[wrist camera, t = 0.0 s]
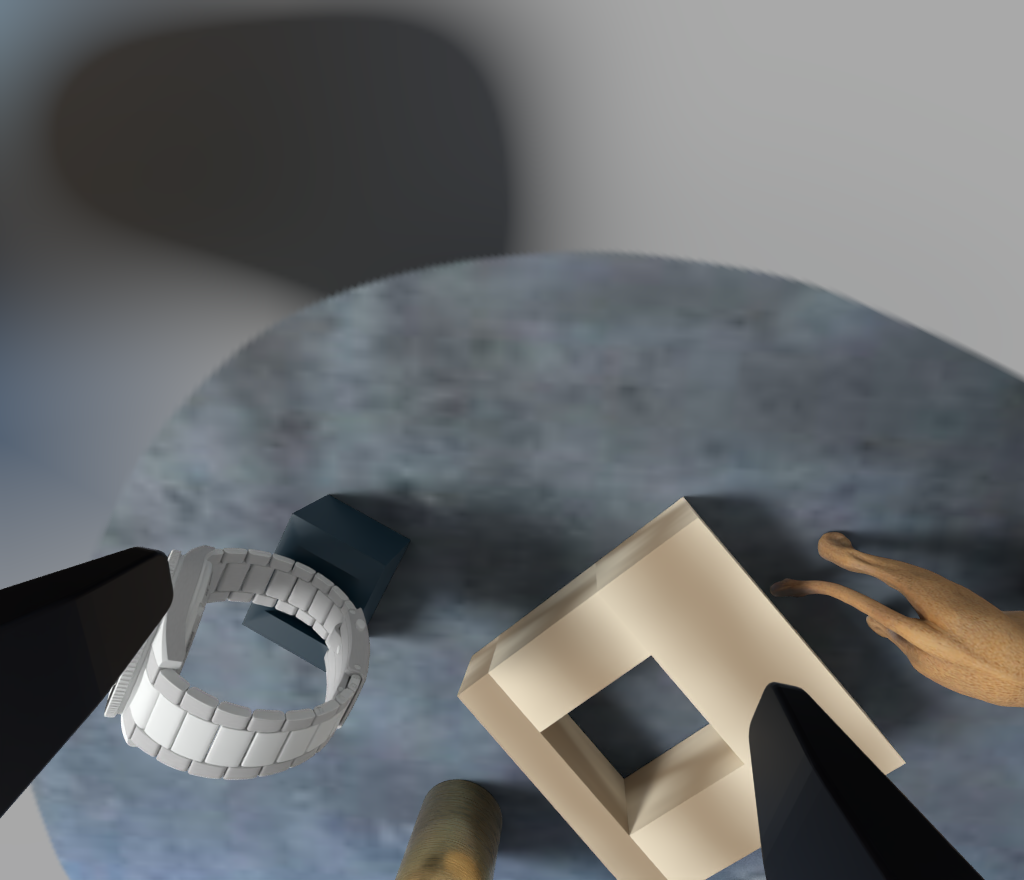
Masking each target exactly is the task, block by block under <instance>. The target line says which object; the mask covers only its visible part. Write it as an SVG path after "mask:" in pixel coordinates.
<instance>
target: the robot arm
mask: <svg viewBox="0 0 1024 880" xmlns="http://www.w3.org/2000/svg"><path fill="white" fill-rule="evenodd" d="M173 596H174V591H173V585H172V579H171V574H170V568H169V562H168V558H167V556H166V555H165V553H164V552H162V551H159V550H155V549H150V548H145V547H133V548H129V549H126V550H123V551H120V552H117V553H114V554H110V555H107V556H104V557H101V558H98V559H95V560H92V561H89V562H85V563H82V564H79V565H76V566H73V567H70V568H67V569H63V570H60V571H57V572H54V573H51V574H48V575H45V576H42V577H38V578H36V579H32V580H29V581H26V582H23V583H20V584H17V585H13V586H11V587H7V588H4V589H1V590H0V818H1V817H2V816H3V815H4V813H5V812H6V811H7V810H8V809H9V808H10V807H11V805H12V804H13V803H14V802H15V801H16V799H17V798H18V797H19V796H20V795H21V794H22V792H23V791H24V790H25V789H26V788H27V787H28V786H29V785H30V783H31V782H32V781H33V780H34V779H35V778H36V777H37V775H38V774H39V773H40V772H41V771H42V770H43V768H44V767H45V766H46V765H47V764H48V763H49V762H50V760H51V759H52V758H53V757H54V756H55V755H56V753H57V752H58V751H59V750H60V749H61V748H62V747H63V745H64V744H65V743H66V742H67V741H68V740H69V739H70V737H71V736H72V735H73V734H74V733H75V732H76V730H77V729H78V728H79V727H80V726H81V725H82V724H83V722H84V721H85V720H86V719H87V718H88V717H89V715H90V714H91V713H92V712H93V711H94V709H95V708H96V707H97V706H98V705H99V703H100V702H101V701H102V700H103V698H104V697H105V696H106V695H107V693H108V692H109V691H110V689H111V688H112V687H113V685H114V684H115V683H116V681H117V680H118V679H119V677H120V676H121V675H122V673H123V672H124V670H125V669H126V668H127V666H128V665H129V664H130V662H131V661H132V659H133V658H134V657H135V655H136V654H137V653H138V651H139V650H140V648H141V647H142V646H143V644H144V643H145V642H146V640H147V639H148V637H149V636H150V635H151V633H152V632H153V631H154V629H155V628H156V627H157V625H158V624H159V622H160V621H161V620H162V618H163V617H164V616H165V614H166V613H167V611H168V610H169V608H170V606H171V604H172V601H173ZM749 747H750V756H751V764H752V773H753V782H754V791H755V799H756V808H757V817H758V826H759V834H760V843H761V850H762V857H763V864H764V870H765V875H766V880H984V879H983V877H982V876H981V875H980V874H979V873H978V872H977V871H976V870H975V869H974V868H973V867H972V866H971V865H970V864H969V863H968V862H967V861H966V860H965V859H964V857H963V856H962V855H961V854H960V853H959V852H958V851H957V850H956V849H955V848H954V847H953V846H952V845H951V844H950V843H949V842H948V841H947V840H946V838H945V837H944V836H943V835H942V834H941V833H940V832H939V831H938V830H937V829H936V828H935V827H934V826H933V825H932V824H931V823H930V822H929V821H928V820H927V818H926V817H925V816H924V815H923V814H922V813H921V812H920V811H919V810H918V809H917V808H916V807H915V806H914V805H913V804H912V803H911V802H910V801H909V800H908V798H907V797H906V796H905V795H904V794H903V793H902V792H901V791H900V790H899V789H898V788H897V787H896V786H895V785H894V784H893V783H892V782H891V781H890V780H889V778H888V777H887V776H886V775H885V774H884V773H883V772H882V771H881V770H880V769H879V768H878V767H877V766H876V765H875V764H874V763H873V762H872V761H871V760H870V758H869V757H868V756H867V755H866V754H865V753H864V752H863V751H862V750H861V749H860V748H859V747H858V746H857V745H856V744H855V743H854V742H853V741H852V740H851V738H850V737H849V736H848V735H847V734H846V733H845V732H844V731H843V730H842V729H841V728H840V727H839V726H838V725H837V724H836V723H835V722H834V721H833V719H832V718H831V717H830V716H829V715H828V714H827V713H826V712H825V711H824V710H823V709H822V708H821V707H820V706H819V705H818V704H817V703H816V702H815V701H814V699H813V698H812V697H811V696H810V695H809V694H808V693H807V692H806V691H804V690H803V689H802V688H799V687H797V686H792V685H788V684H783V683H778V682H771V683H769V684H768V685H767V686H766V687H765V689H764V691H763V694H762V696H761V698H760V701H759V703H758V705H757V708H756V710H755V712H754V715H753V717H752V720H751V722H750V727H749Z"/></svg>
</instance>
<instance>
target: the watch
mask: <svg viewBox="0 0 1024 880" xmlns="http://www.w3.org/2000/svg"><path fill="white" fill-rule="evenodd" d="M409 542H410V540H409V539H407V538H406V537H404V536H402V535H400V534H398V533H397V532H395V531H393V530H391V529H389V528H388V527H386V526H384V525H382V524H381V523H379V522H377V521H375V520H373V519H372V518H370V517H368V516H366V515H364V514H363V513H361V512H359V511H357V510H355V509H354V508H352V507H350V506H348V505H346V504H345V503H343V502H341V501H339V500H337V499H336V498H334V497H332V496H330V495H327V496H325V497H323V498H321V499H319V500H317V501H315V502H313V503H311V504H310V505H308V506H306V507H304V508H302V509H300V510H298V511H296V512H294V513H292V515H291V518H290V520H289V522H288V524H287V526H286V529H285V531H284V533H283V535H282V537H281V540H280V542H279V544H278V546H277V548H276V551H275V553H274V554H273V555H272V557H271V553H268V552H264V551H259V550H253V549H249V550H248V551H247V550H246V549H239V548H224V549H223V550H222V549H215V548H214V547H210V546H205V545H204V546H200V547H197V548H194V549H192V550H190V551H189V552H187V553H186V554H185V556H184V555H181V551H178V550H172V552H171V553H170V554H169V556H168V557H167V558H168V562H169V568H170V574H171V579H172V585H173V591H174V596H173V601H172V604H171V606H170V608H169V610H168V611H167V613H166V614H165V616H164V617H163V618H162V620H161V621H160V622H159V624H158V625H157V627H156V628H155V629H154V631H153V632H152V633H151V635H150V636H149V637H148V639H147V640H146V642H145V643H144V644H143V646H142V647H141V648H140V650H139V651H138V653H137V654H136V655H135V657H134V658H133V659H132V661H131V662H130V664H129V665H128V666H127V668H126V669H125V670H124V672H123V673H122V675H121V676H120V677H119V679H118V680H117V681H116V683H115V684H114V685H113V687H112V688H111V690H110V693H109V696H108V699H107V704H106V709H105V717H113V718H114V717H115V716H116V714H121V727H122V732H123V735H124V738H125V740H126V742H127V744H128V745H129V746H131V747H139V748H140V749H141V750H143V751H144V752H146V753H147V754H149V755H150V756H153V757H155V756H157V755H158V756H157V760H158V761H160V762H162V763H164V764H166V765H168V766H170V767H172V768H175V769H177V770H180V771H187V770H188V768H189V766H190V768H189V770H188V773H189V774H192V775H196V776H201V777H207V778H215V779H219V778H222V776H223V774H224V776H223V778H224V779H226V780H241V779H251V778H256V777H257V775H259V776H260V777H262V776H267V775H272V774H276V773H279V772H282V771H285V770H287V769H289V767H295V766H297V765H299V764H301V763H303V762H305V761H306V760H308V759H309V758H311V757H312V756H314V754H315V753H318V752H319V751H320V750H321V749H322V748H323V747H324V746H325V745H326V744H327V743H328V741H329V740H330V738H331V737H332V736H333V734H334V732H335V731H336V729H338V728H341V727H342V725H343V724H344V722H345V720H346V719H347V717H348V715H349V713H350V711H351V710H352V708H353V706H354V704H355V702H356V700H357V698H358V696H359V693H360V691H361V689H362V687H363V685H364V683H365V681H366V677H367V672H368V666H369V656H370V642H369V634H368V628H367V625H368V623H369V621H370V619H371V617H372V615H373V613H374V611H375V609H376V607H377V605H378V603H379V601H380V599H381V597H382V595H383V593H384V591H385V589H386V587H387V585H388V583H389V581H390V579H391V578H392V576H393V574H394V572H395V570H396V568H397V566H398V564H399V562H400V560H401V558H402V556H403V554H404V552H405V550H406V548H407V546H408V544H409ZM270 558H271V559H270ZM269 560H270V561H269ZM268 562H269V563H268ZM248 569H249V570H248ZM244 578H245V579H244ZM254 593H255V594H254ZM253 595H254V596H253ZM227 598H228V600H229V601H233V602H250V601H251V600H252V603H251V606H250V608H249V610H248V612H247V614H246V617H245V619H244V621H243V623H242V624H243V625H244V626H246V627H248V628H250V629H251V630H253V631H255V632H257V633H258V634H260V635H262V636H264V637H265V638H267V639H269V640H271V641H272V642H274V643H276V644H278V645H279V646H281V647H283V648H285V649H286V650H288V651H290V652H292V653H293V654H295V655H297V656H298V657H300V658H302V659H304V660H305V661H307V662H309V663H311V664H312V665H314V666H316V667H318V668H319V669H321V670H323V671H325V672H326V674H327V692H326V700H325V703H324V704H321V705H319V706H316V707H315V708H314V709H313V710H311V709H303V710H294V711H288V712H286V714H285V715H284V713H283V712H282V711H274V710H262V709H257V710H255V711H254V712H253V714H252V716H251V710H250V709H249V708H247V707H243V706H239V705H236V704H232V703H229V702H225V701H224V702H221V703H220V704H219V706H218V703H219V701H218V699H217V698H215V697H213V696H211V695H209V694H207V693H206V692H204V691H202V690H200V689H199V688H197V687H192V688H190V689H189V686H190V684H189V683H188V682H187V681H186V680H185V679H184V678H182V677H181V676H180V673H181V670H182V668H183V665H184V663H185V660H186V658H187V655H188V653H189V650H190V647H191V645H192V642H193V639H194V637H195V634H196V631H197V629H198V626H199V623H200V620H201V617H202V614H203V611H204V608H205V605H206V603H212V602H222V601H226V600H227ZM252 598H253V599H252ZM217 706H218V707H217ZM216 708H217V709H216ZM215 710H216V711H215ZM214 712H215V713H214ZM220 725H221V726H220ZM219 726H220V728H219ZM218 728H219V731H218V733H217V735H216V732H217V730H218ZM215 735H216V737H215ZM214 737H215V739H214ZM213 739H214V741H213ZM212 741H213V743H212ZM211 743H212V746H211V748H210V750H209V747H210V745H211ZM208 750H209V752H208ZM207 752H208V754H207ZM192 760H193V761H192ZM191 762H192V763H191ZM190 764H191V765H190Z"/></svg>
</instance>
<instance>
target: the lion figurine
mask: <svg viewBox="0 0 1024 880" xmlns="http://www.w3.org/2000/svg"><path fill="white" fill-rule="evenodd" d="M818 552H819V555H820V556H821V557H822V558H824V559H826V560H828V561H831V562H833V563H834V564H836V565H838V566H840V567H842V568H844V569H846V570H849V571H853V572H857V573H865V574H868V575H871V576H874V577H876V578H878V579H880V580H882V581H883V582H885V583H886V584H887V585H889V586H890V587H892V588H894V589H896V590H898V591H899V592H901V593H902V594H903V595H904V596H905V597H906V599H907V600H908V601H909V602H910V604H911V605H912V606H913V608H914V609H915V610H916V612H917V613H918V615H919V617H920V619H917V618H909V617H906V616H904V615H902V614H900V613H898V612H896V611H894V610H892V609H890V608H888V607H886V606H885V605H883V604H881V603H879V602H877V601H875V600H873V599H871V598H869V597H867V596H865V595H863V594H861V593H859V592H857V591H854V590H852V589H850V588H847V587H845V586H842V585H840V584H836V583H832V582H827V581H819V580H811V581H800V580H793V579H789V578H785V579H784V580H782V581H780V582H776V583H774V584H773V585H772V586H771V587H770V593H771V594H772V595H773V596H776V597H785V596H793V597H802V596H805V595H809V594H825V595H829V596H832V597H835V598H837V599H839V600H841V601H843V602H845V603H847V604H849V605H851V606H853V607H855V608H857V609H858V610H860V611H862V612H863V613H865V614H867V615H868V617H867V623H868V626H869V627H870V628H871V629H872V630H873V631H874V632H876V633H877V634H879V635H880V636H882V637H885V638H888V639H890V640H891V641H892V642H893V643H894V644H896V645H897V646H898V647H899V648H900V649H901V650H902V651H903V653H904V654H906V655H907V657H908V659H909V660H910V662H911V664H912V666H913V667H914V668H915V669H916V670H917V671H918V672H920V673H921V674H923V675H924V676H926V677H928V678H929V679H931V680H933V681H935V682H936V683H938V684H940V685H942V686H944V687H946V688H948V689H951V690H953V691H955V692H958V693H960V694H963V695H967V696H970V697H973V698H977V699H980V700H983V701H986V702H989V703H992V704H996V705H999V706H1009V707H1024V611H1001V610H999V609H998V608H997V607H995V606H994V605H992V604H991V603H989V602H988V601H986V600H985V599H983V598H982V597H980V596H978V595H977V594H975V593H974V592H972V591H971V590H969V589H967V588H965V587H963V586H961V585H959V584H956V583H954V582H952V581H950V580H948V579H946V578H944V577H942V576H940V575H938V574H936V573H934V572H931V571H929V570H926V569H923V568H920V567H918V566H914V565H911V564H908V563H905V562H901V561H897V560H892V559H888V558H883V557H878V556H874V555H870V554H866V553H862V552H860V551H858V550H855V549H854V548H853V547H852V545H851V542H850V540H849V539H848V538H846V537H845V536H844V535H843V534H841V533H838V532H829V533H826V534H824V535H823V536H822V537H821V538H820V540H819V543H818Z"/></svg>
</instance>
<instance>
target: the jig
mask: <svg viewBox="0 0 1024 880" xmlns="http://www.w3.org/2000/svg"><path fill="white" fill-rule="evenodd" d="M651 655H652V657H653V658H654V659H655V660H656V661H657V662H658V664H659V665H660V666H661V667H662V668H663V669H664V671H665V672H666V673H667V674H668V675H669V676H670V678H671V679H672V680H673V681H674V682H675V683H676V685H677V686H678V687H679V688H680V689H681V690H682V692H683V693H684V694H685V695H686V696H687V697H688V699H689V700H690V701H691V702H692V703H693V704H694V706H695V707H696V708H697V709H698V710H699V711H700V713H701V714H702V715H703V716H704V717H705V718H706V720H707V721H708V722H709V723H710V724H708V725H707V726H705V727H704V728H702V729H701V730H699V731H697V732H696V733H694V734H693V735H691V736H690V737H688V738H687V739H685V740H684V741H682V742H680V743H679V744H677V745H676V746H674V747H673V748H671V749H670V750H668V751H667V752H665V753H663V754H662V755H660V756H659V757H657V758H656V759H654V760H653V761H651V762H650V763H648V764H646V765H645V766H643V767H642V768H640V769H639V770H637V771H636V772H634V773H633V774H631V775H629V776H628V777H626V778H625V779H623V777H622V776H621V775H620V774H619V773H618V772H617V771H616V769H615V768H614V767H613V766H612V765H611V764H610V762H609V761H608V760H607V759H606V758H605V757H604V756H603V754H602V753H601V752H600V751H599V750H598V749H597V747H596V746H595V745H594V744H593V743H592V742H591V740H590V739H589V738H588V737H587V736H586V735H585V734H584V732H583V731H582V730H581V729H580V728H579V727H578V725H577V724H576V723H575V722H574V721H573V720H572V719H571V717H570V716H569V715H568V714H567V713H569V712H570V711H572V710H573V709H574V708H576V707H577V706H579V705H580V704H582V703H583V702H585V701H586V700H587V699H589V698H590V697H592V696H593V695H595V694H596V693H597V692H599V691H600V690H602V689H603V688H605V687H606V686H608V685H609V684H610V683H612V682H613V681H615V680H616V679H618V678H619V677H621V676H622V675H623V674H625V673H626V672H628V671H629V670H631V669H632V668H633V667H635V666H636V665H638V664H639V663H641V662H642V661H644V660H645V659H646V658H648V657H649V656H651ZM771 682H778V683H783V684H788V685H792V686H797V687H799V688H802V689H803V690H804V691H806V692H807V693H808V694H809V695H810V696H811V697H812V698H813V699H814V701H815V702H816V703H817V704H818V705H819V706H820V707H821V708H822V709H823V710H824V711H825V712H826V713H827V714H828V715H829V716H830V717H831V718H832V719H833V721H834V722H835V723H836V724H837V725H838V726H839V727H840V728H841V729H842V730H843V731H844V732H845V733H846V734H847V735H848V736H849V737H850V738H851V740H852V741H853V742H854V743H855V744H856V745H857V746H858V747H859V748H860V749H861V750H862V751H863V752H864V753H865V754H866V755H867V756H868V757H869V758H870V760H871V761H872V762H873V763H874V764H875V765H876V766H877V767H878V768H879V769H880V770H881V771H882V772H883V773H884V774H885V775H886V774H888V773H890V772H891V771H893V770H895V769H897V768H898V767H900V766H902V765H903V764H905V761H904V760H903V759H902V758H901V756H900V755H899V754H898V753H897V751H896V750H895V749H894V748H893V746H892V745H891V744H890V743H889V741H888V740H887V739H886V738H885V736H884V735H883V734H882V733H881V731H880V730H879V729H878V728H877V726H876V725H875V724H874V723H873V721H872V720H871V719H870V718H869V716H868V715H867V714H866V713H865V711H864V710H863V709H862V708H861V707H860V705H859V704H858V703H857V702H856V701H855V700H854V698H853V697H852V696H851V695H850V694H849V692H848V691H847V690H846V689H845V688H844V687H843V685H842V684H841V683H840V682H839V681H838V679H837V678H836V677H835V676H834V675H833V674H832V672H831V671H830V670H829V669H828V668H827V666H826V665H825V664H824V663H823V662H822V661H821V659H820V658H819V657H818V656H817V655H816V653H815V652H814V651H813V650H812V649H811V648H810V646H809V645H808V644H807V643H806V642H805V640H804V639H803V638H802V637H801V636H800V634H799V633H798V632H797V631H796V630H795V629H794V627H793V626H792V625H791V624H790V623H789V621H788V620H787V619H786V618H785V617H784V616H783V614H782V613H781V612H780V611H779V610H778V608H777V607H776V606H775V605H774V604H773V603H772V601H771V600H770V599H769V598H768V597H767V595H766V594H765V593H764V592H763V591H762V590H761V588H760V587H759V586H758V585H757V584H756V582H755V581H754V580H753V579H752V578H751V576H750V575H749V574H748V573H747V572H746V571H745V569H744V568H743V567H742V566H741V565H740V563H739V562H738V561H737V560H736V559H735V558H734V556H733V555H732V554H731V553H730V552H729V550H728V549H727V548H726V547H725V546H724V545H723V543H722V542H721V541H720V540H719V539H718V537H717V536H716V535H715V534H714V533H713V532H712V530H711V529H710V528H709V527H708V526H707V524H706V523H705V522H704V521H703V520H702V519H701V517H700V516H699V515H698V514H697V513H696V511H695V510H694V509H693V508H692V507H691V505H690V504H689V503H688V502H687V501H686V500H685V498H684V497H682V498H681V499H679V500H678V501H677V502H676V503H674V504H673V505H672V506H670V507H669V508H668V509H666V510H665V511H664V512H662V513H661V514H660V515H658V516H657V517H656V518H654V519H653V520H652V521H650V522H649V523H648V524H646V525H645V526H644V527H642V528H641V529H640V530H638V531H637V532H636V533H634V534H633V535H632V536H630V537H629V538H628V539H627V540H625V541H624V542H623V543H621V544H620V545H619V546H617V547H616V548H615V549H613V550H612V551H611V552H609V553H608V554H607V555H605V556H604V557H603V558H601V559H600V560H599V561H597V562H596V563H595V564H593V565H592V566H591V567H589V568H588V569H587V570H585V571H584V572H583V573H581V574H580V575H579V576H578V577H576V578H575V579H574V580H572V581H571V582H570V583H568V584H567V585H566V586H564V587H563V588H562V589H560V590H559V591H558V592H556V593H555V594H554V595H552V596H551V597H550V598H548V599H547V600H546V601H544V602H543V603H542V604H540V605H539V606H538V607H536V608H535V609H534V610H532V611H531V612H530V613H528V614H527V615H526V616H525V617H523V618H522V619H521V620H519V621H518V622H517V623H515V624H514V625H513V626H511V627H510V628H509V629H507V630H506V631H505V632H503V633H502V634H501V635H499V636H498V637H497V638H495V639H494V640H493V641H491V642H490V643H489V644H487V645H486V646H485V647H483V648H482V649H481V650H479V651H478V652H477V653H476V654H474V655H473V656H472V658H471V660H470V663H469V666H468V668H467V671H466V674H465V676H464V679H463V682H462V684H461V687H460V690H459V692H458V695H457V696H458V697H459V699H460V700H461V701H462V702H463V703H464V704H465V705H466V707H467V708H468V709H469V710H470V711H471V712H472V713H473V715H474V716H475V717H476V718H477V719H478V720H479V722H480V723H481V724H482V725H483V726H484V727H485V728H486V730H487V731H488V732H489V733H490V734H491V735H492V736H493V738H494V739H495V740H496V741H497V742H498V743H499V744H500V746H501V747H502V748H503V749H504V750H505V751H506V753H507V754H508V755H509V756H510V757H511V758H512V759H513V761H514V762H515V763H516V764H517V765H518V766H519V767H520V769H521V770H522V771H523V772H524V773H525V774H526V775H527V777H528V778H529V779H530V780H531V781H532V782H533V784H534V785H535V786H536V787H537V788H538V789H539V790H540V792H541V793H542V794H543V795H544V796H545V797H546V798H547V800H548V801H549V802H550V803H551V804H552V805H553V806H554V808H555V809H556V810H557V811H558V812H559V813H560V815H561V816H562V817H563V818H564V819H565V820H566V821H567V823H568V824H569V825H570V826H571V827H572V828H573V829H574V831H575V832H576V833H577V834H578V835H579V836H580V837H581V839H582V840H583V841H584V842H585V843H586V844H587V846H588V847H589V848H590V849H591V850H592V851H593V852H594V854H595V855H596V856H597V857H598V858H599V859H600V860H601V862H602V863H603V864H604V865H605V866H606V867H607V868H608V870H609V871H610V872H611V873H612V874H613V875H614V877H615V878H616V879H617V880H705V879H707V878H709V877H710V876H712V875H714V874H715V873H717V872H719V871H721V870H722V869H724V868H726V867H728V866H729V865H731V864H733V863H734V862H736V861H738V860H740V859H741V858H743V857H745V856H747V855H748V854H750V853H752V852H753V851H755V850H757V849H759V848H760V847H761V843H760V834H759V826H758V817H757V808H756V799H755V791H754V782H753V773H752V764H751V756H750V747H749V727H750V722H751V720H752V717H753V715H754V712H755V710H756V708H757V705H758V703H759V701H760V698H761V696H762V694H763V691H764V689H765V687H766V686H767V685H768V684H769V683H771Z"/></svg>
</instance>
